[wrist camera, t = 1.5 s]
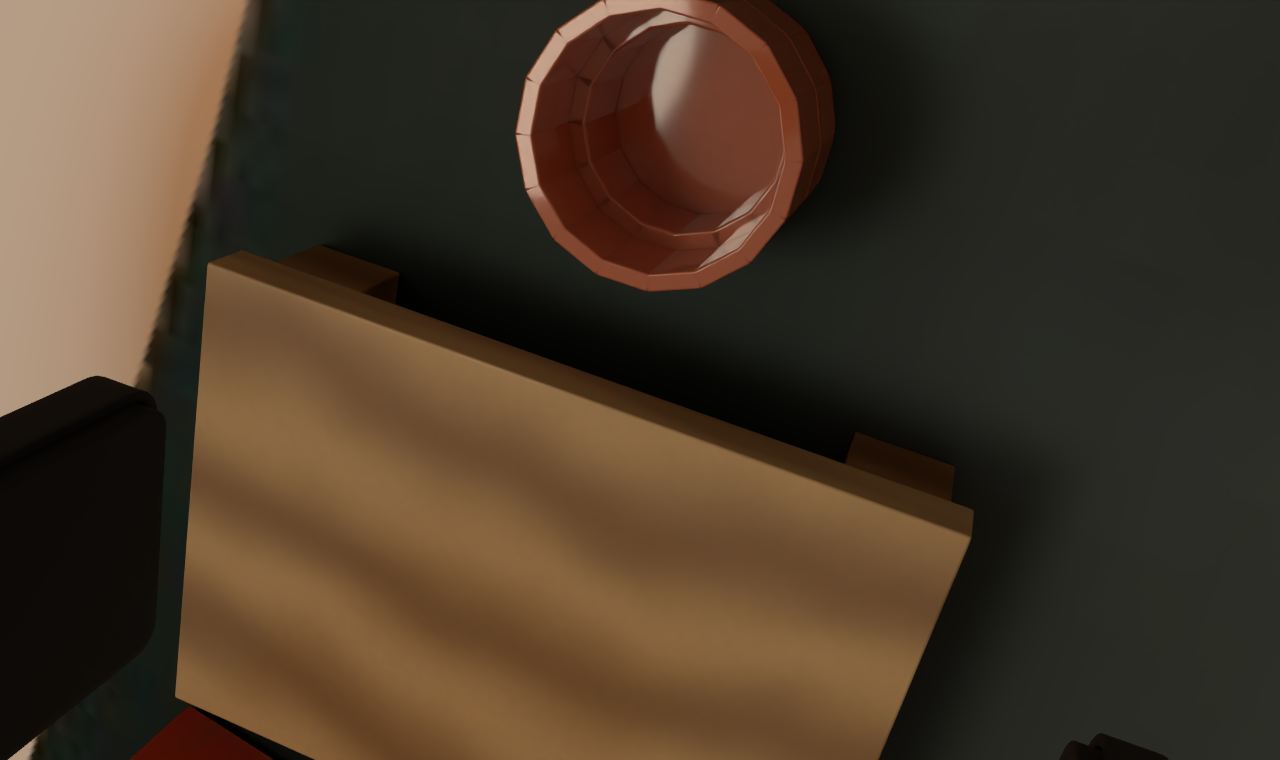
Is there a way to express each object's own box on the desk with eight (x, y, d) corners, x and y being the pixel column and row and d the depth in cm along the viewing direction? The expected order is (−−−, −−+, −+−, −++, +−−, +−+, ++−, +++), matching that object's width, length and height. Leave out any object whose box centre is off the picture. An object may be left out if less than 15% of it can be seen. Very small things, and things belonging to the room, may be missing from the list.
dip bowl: (624, -46, 31) (547, -44, 26) (871, 22, 29) (840, 37, 24) (572, 198, 33) (494, 240, 28) (795, 270, 32) (754, 328, 27)
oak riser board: (307, 224, 36) (206, 262, 32) (979, 456, 32) (972, 537, 28) (262, 620, 43) (174, 697, 39) (816, 855, 39) (789, 973, 34)
